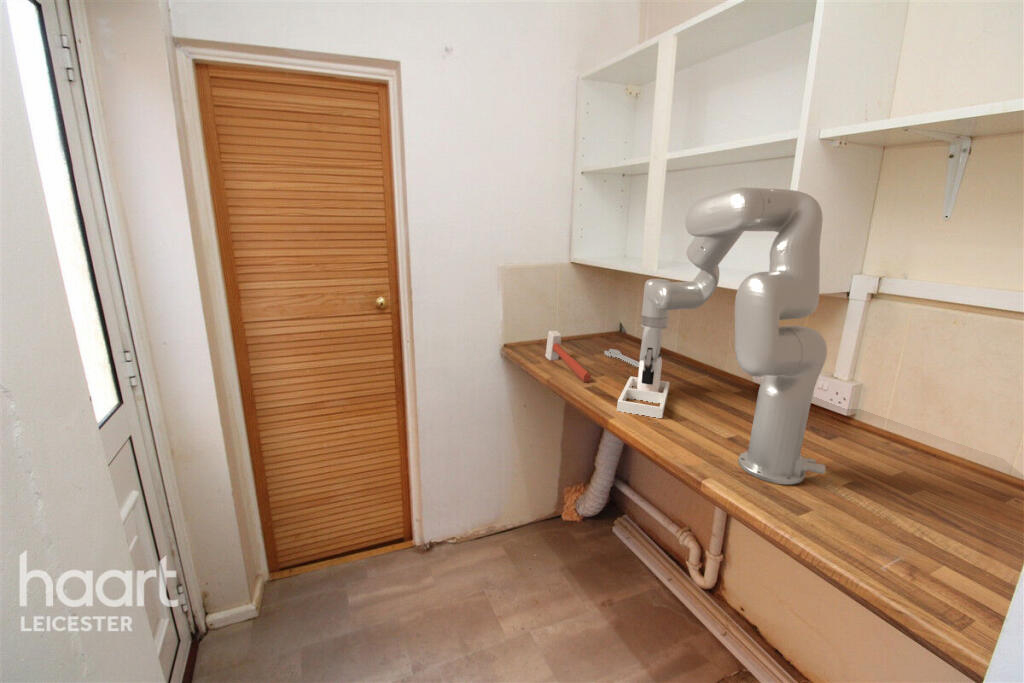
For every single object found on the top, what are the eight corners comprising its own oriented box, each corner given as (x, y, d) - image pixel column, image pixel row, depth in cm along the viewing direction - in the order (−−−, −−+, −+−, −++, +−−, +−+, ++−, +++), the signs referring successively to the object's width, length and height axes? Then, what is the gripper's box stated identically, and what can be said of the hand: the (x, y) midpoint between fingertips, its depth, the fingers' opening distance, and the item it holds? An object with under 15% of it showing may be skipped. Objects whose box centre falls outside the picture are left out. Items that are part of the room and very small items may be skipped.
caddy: (668, 391, 145) (669, 382, 144) (661, 419, 124) (663, 408, 124) (629, 385, 149) (630, 376, 149) (616, 411, 129) (617, 401, 128)
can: (633, 387, 146) (637, 351, 142) (653, 386, 147) (657, 350, 143) (641, 396, 140) (645, 358, 136) (662, 395, 140) (666, 358, 137)
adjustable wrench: (652, 372, 164) (653, 367, 164) (637, 374, 162) (637, 369, 162) (614, 352, 187) (615, 348, 186) (600, 353, 185) (601, 349, 184)
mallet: (594, 365, 149) (556, 329, 174) (584, 366, 148) (547, 330, 173) (589, 394, 153) (553, 355, 179) (579, 395, 152) (544, 356, 178)
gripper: (644, 315, 145) (639, 371, 150) (637, 326, 130) (631, 387, 134) (670, 317, 142) (663, 374, 147) (665, 329, 127) (658, 392, 132)
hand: (648, 380), depth 140 cm, fingers open, 4 cm apart
